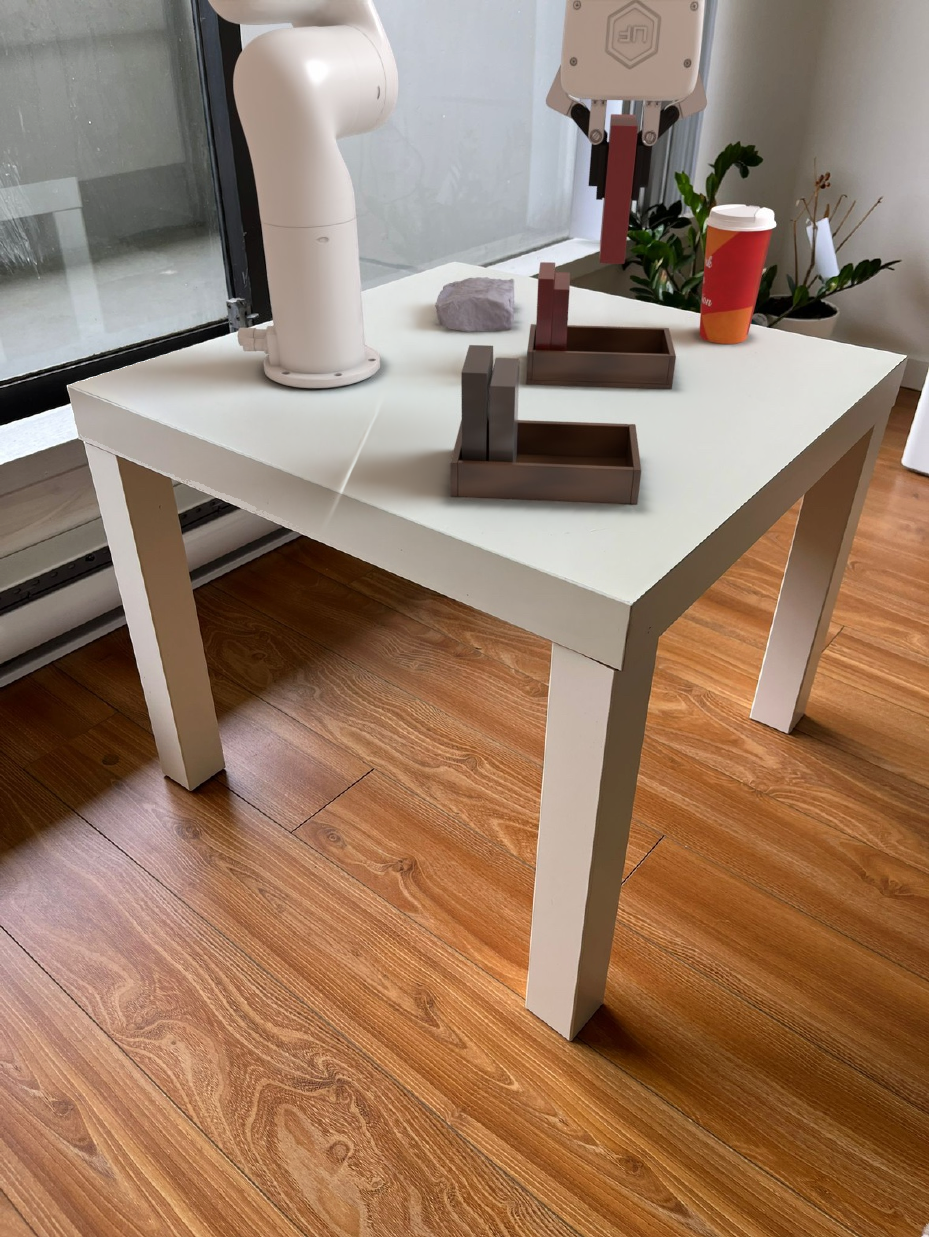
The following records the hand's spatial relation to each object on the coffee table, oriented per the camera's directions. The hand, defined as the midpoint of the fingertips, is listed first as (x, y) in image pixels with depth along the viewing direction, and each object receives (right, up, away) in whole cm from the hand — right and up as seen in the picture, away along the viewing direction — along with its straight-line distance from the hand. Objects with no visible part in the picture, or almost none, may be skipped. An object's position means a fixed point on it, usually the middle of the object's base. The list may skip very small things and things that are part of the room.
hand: (617, 195), depth 76 cm
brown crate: (-6, -23, +4) cm, 24 cm away
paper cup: (+18, -1, +35) cm, 40 cm away
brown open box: (+2, -8, +26) cm, 27 cm away
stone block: (-11, +3, +42) cm, 43 cm away
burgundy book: (0, -4, +3) cm, 5 cm away
